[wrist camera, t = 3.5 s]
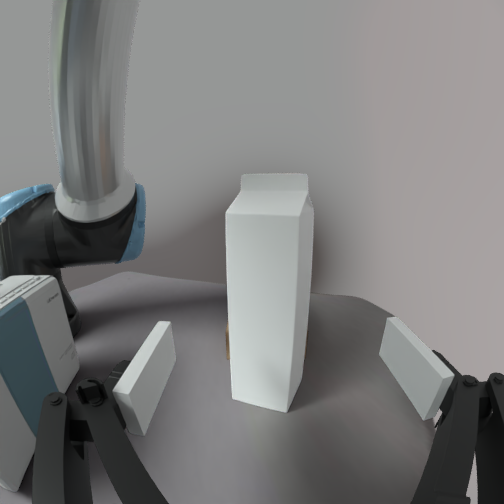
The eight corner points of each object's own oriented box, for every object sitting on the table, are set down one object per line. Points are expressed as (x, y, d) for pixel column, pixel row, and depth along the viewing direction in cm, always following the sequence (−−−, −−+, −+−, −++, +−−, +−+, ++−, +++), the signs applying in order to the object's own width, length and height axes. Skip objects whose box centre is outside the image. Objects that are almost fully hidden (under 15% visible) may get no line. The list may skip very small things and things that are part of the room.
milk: (253, 370, 31) (253, 176, 26) (302, 380, 29) (314, 175, 24) (231, 400, 25) (223, 171, 21) (287, 414, 23) (300, 169, 18)
